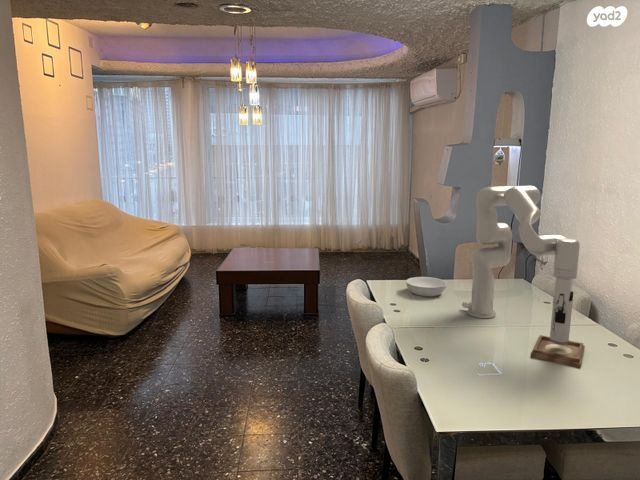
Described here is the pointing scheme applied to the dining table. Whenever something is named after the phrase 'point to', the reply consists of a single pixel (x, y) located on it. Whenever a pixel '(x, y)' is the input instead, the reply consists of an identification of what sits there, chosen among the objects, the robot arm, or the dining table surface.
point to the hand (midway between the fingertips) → (560, 319)
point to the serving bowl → (426, 286)
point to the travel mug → (561, 325)
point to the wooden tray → (558, 352)
